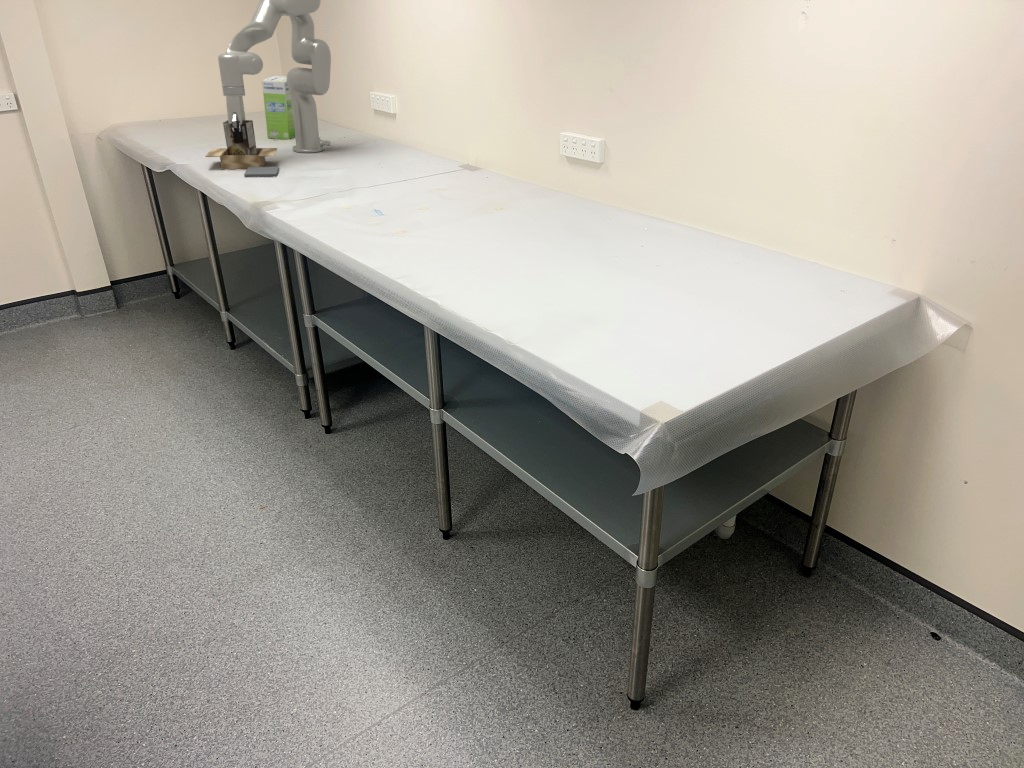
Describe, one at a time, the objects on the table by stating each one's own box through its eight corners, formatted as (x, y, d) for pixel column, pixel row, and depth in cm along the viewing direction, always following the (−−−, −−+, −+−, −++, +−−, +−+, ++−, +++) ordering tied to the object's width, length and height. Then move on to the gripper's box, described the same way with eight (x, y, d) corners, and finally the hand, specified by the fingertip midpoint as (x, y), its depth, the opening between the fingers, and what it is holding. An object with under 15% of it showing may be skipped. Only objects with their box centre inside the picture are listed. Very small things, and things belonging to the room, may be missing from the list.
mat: (279, 169, 278) (279, 166, 277) (276, 176, 267) (276, 174, 267) (248, 169, 276) (248, 166, 275) (244, 177, 266) (244, 174, 265)
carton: (278, 161, 290) (277, 148, 287) (275, 169, 277) (273, 155, 275) (214, 161, 285) (211, 148, 283) (207, 170, 273) (205, 156, 271)
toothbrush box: (290, 139, 327) (284, 80, 316) (267, 139, 327) (260, 80, 316) (302, 132, 343) (296, 76, 331) (279, 131, 343) (273, 75, 331)
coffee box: (259, 164, 284) (253, 120, 276) (252, 168, 278) (246, 123, 271) (236, 163, 285) (229, 118, 277) (228, 166, 279) (222, 121, 271)
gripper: (226, 87, 276) (233, 135, 284) (219, 94, 261) (226, 144, 269) (247, 88, 277) (254, 135, 285) (241, 94, 262) (248, 144, 270)
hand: (240, 140), depth 277 cm, fingers open, 9 cm apart
